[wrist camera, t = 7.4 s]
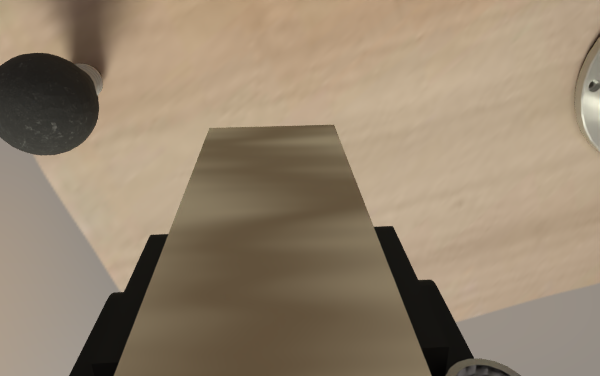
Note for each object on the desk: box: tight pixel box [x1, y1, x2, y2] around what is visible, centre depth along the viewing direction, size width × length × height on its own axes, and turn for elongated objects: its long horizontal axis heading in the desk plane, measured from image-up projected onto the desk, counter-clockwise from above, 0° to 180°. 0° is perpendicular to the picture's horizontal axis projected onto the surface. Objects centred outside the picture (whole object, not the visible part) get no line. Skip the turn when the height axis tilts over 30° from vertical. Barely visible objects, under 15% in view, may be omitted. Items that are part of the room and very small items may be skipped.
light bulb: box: [0, 53, 103, 155], centre depth 29 cm, size 6×6×10 cm
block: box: [114, 125, 431, 376], centre depth 11 cm, size 4×4×12 cm
